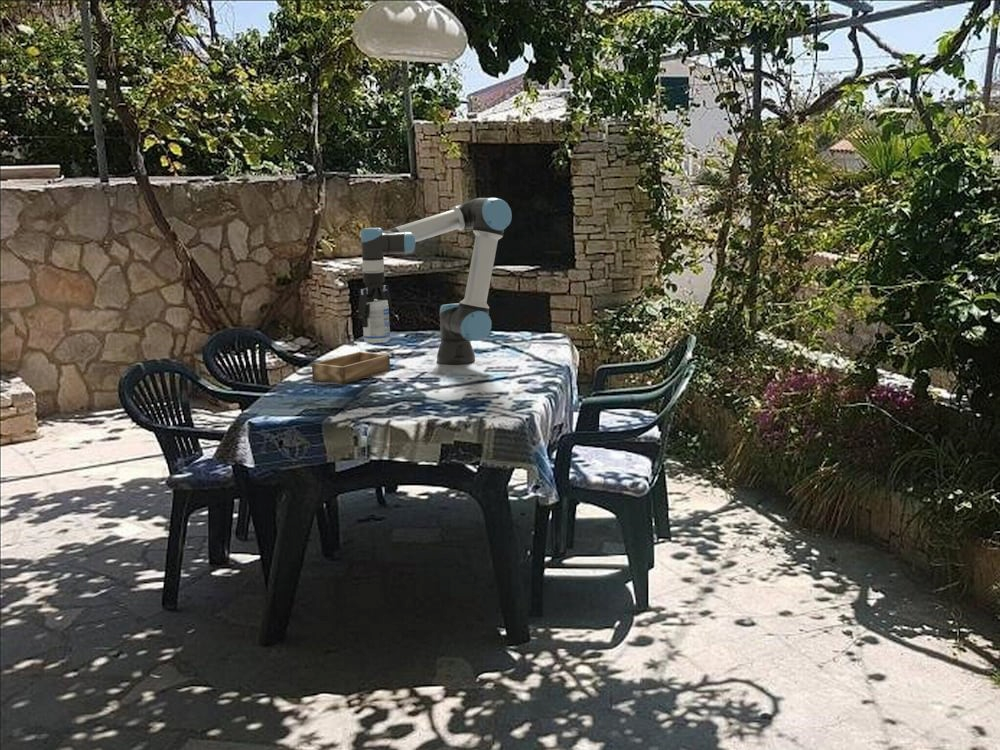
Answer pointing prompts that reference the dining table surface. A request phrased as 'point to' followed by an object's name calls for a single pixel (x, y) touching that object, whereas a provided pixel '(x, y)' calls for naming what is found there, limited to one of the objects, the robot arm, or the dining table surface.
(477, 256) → the robot arm
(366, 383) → the dining table surface
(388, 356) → the walled box
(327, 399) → the dining table surface
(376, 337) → the supplement tub
